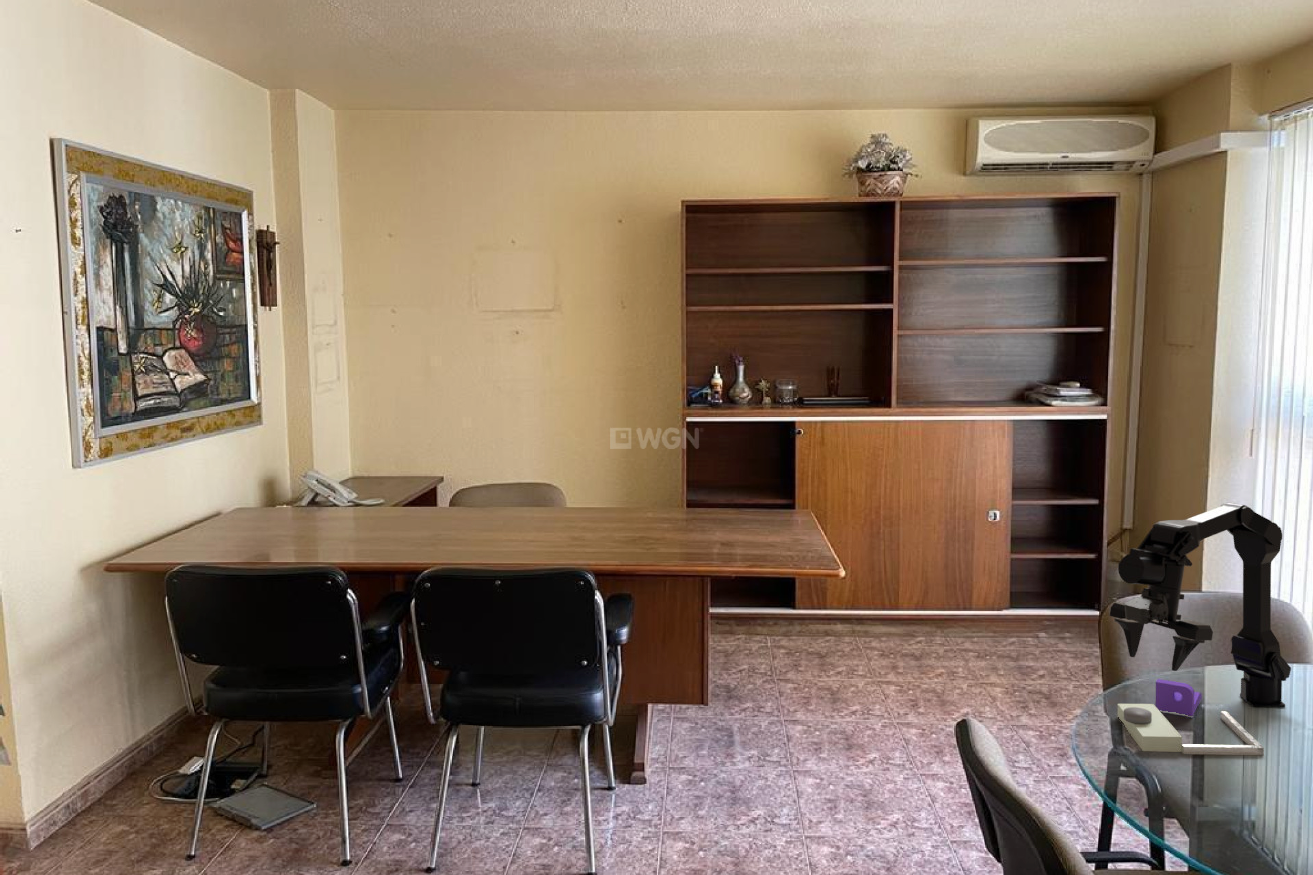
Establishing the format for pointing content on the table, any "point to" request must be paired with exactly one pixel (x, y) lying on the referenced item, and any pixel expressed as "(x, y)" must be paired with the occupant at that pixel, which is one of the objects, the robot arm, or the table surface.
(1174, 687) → the bracket
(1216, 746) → the cream railed tray
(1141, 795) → the table surface
